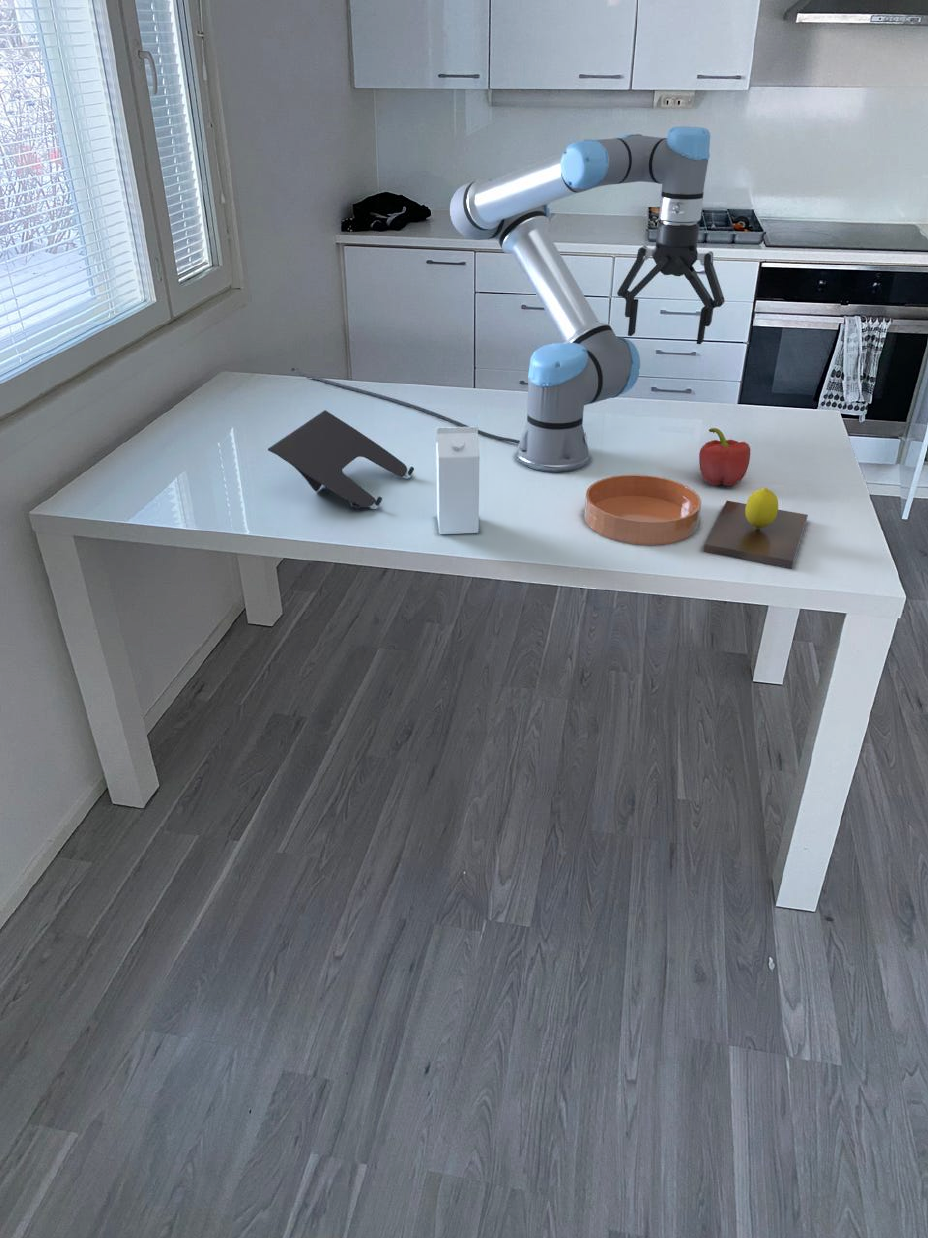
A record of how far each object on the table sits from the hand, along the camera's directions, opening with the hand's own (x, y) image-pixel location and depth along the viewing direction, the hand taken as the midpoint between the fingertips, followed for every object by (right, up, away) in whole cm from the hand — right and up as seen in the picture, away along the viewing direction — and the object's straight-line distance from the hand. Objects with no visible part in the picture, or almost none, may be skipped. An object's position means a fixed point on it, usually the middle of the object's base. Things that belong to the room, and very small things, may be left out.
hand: (665, 338), depth 183 cm
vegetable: (+13, -27, +7) cm, 31 cm away
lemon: (+14, -39, -14) cm, 44 cm away
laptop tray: (-62, -28, +4) cm, 69 cm away
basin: (-6, -36, -8) cm, 38 cm away
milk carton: (-41, -38, -10) cm, 57 cm away
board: (+14, -40, -13) cm, 44 cm away
